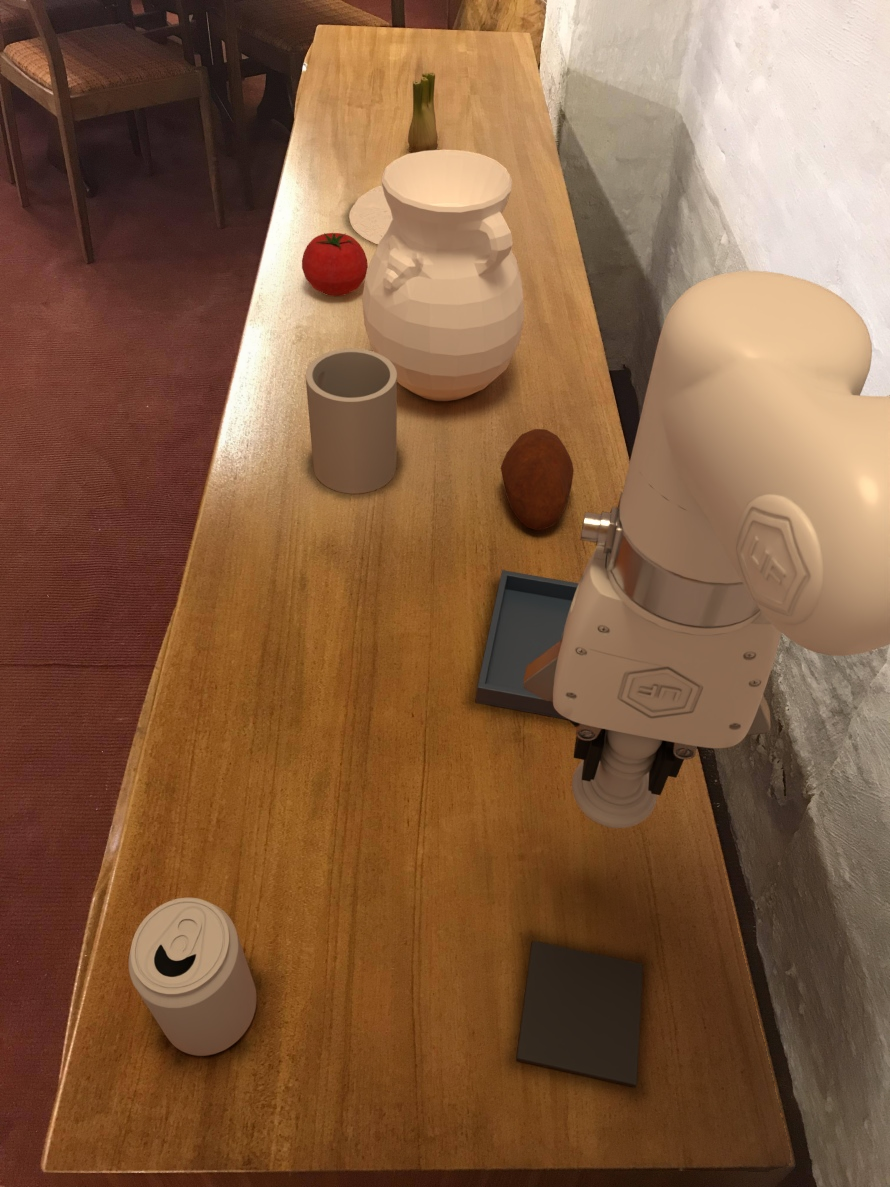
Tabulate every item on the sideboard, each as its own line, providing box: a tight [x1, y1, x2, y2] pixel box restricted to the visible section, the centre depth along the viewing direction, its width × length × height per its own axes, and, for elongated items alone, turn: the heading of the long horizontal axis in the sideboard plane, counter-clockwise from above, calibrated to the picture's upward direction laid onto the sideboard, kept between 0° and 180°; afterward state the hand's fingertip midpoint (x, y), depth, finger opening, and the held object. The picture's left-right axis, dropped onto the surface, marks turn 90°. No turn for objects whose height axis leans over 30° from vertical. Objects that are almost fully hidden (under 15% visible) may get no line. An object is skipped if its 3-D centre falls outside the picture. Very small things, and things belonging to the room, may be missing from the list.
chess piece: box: [571, 729, 663, 829], centre depth 54 cm, size 5×5×9 cm
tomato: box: [301, 232, 369, 297], centre depth 120 cm, size 9×9×8 cm
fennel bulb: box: [407, 72, 439, 153], centre depth 150 cm, size 6×5×12 cm
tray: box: [475, 569, 579, 721], centre depth 82 cm, size 14×11×2 cm
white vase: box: [361, 149, 525, 402], centre depth 101 cm, size 19×18×25 cm
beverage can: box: [128, 897, 257, 1057], centre depth 57 cm, size 6×6×12 cm
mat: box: [515, 940, 644, 1088], centre depth 62 cm, size 8×8×1 cm
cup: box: [305, 347, 398, 495], centre depth 95 cm, size 9×9×12 cm
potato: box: [500, 428, 574, 531], centre depth 94 cm, size 8×12×8 cm, turn 179°
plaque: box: [348, 184, 393, 245], centre depth 138 cm, size 20×20×2 cm
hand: (622, 765), depth 54 cm, fingers closed on chess piece, 3 cm apart
